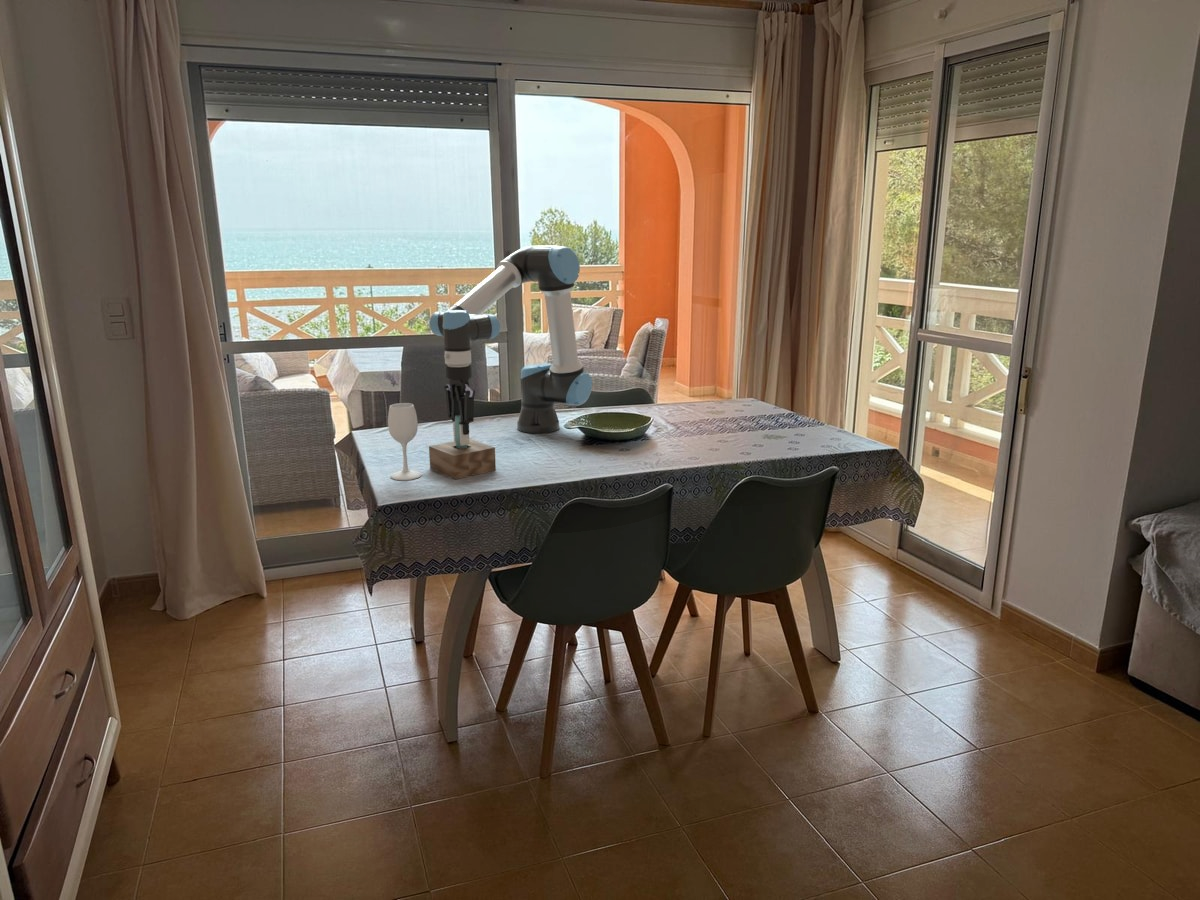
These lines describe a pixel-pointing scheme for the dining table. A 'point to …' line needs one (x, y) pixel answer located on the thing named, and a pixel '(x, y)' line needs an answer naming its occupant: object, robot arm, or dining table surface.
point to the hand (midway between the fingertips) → (461, 443)
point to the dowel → (458, 433)
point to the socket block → (462, 459)
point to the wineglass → (403, 434)
